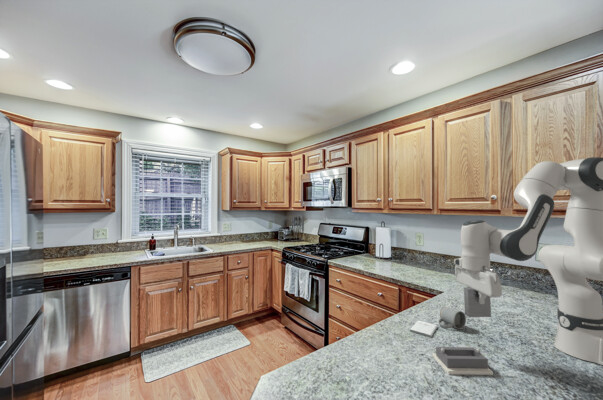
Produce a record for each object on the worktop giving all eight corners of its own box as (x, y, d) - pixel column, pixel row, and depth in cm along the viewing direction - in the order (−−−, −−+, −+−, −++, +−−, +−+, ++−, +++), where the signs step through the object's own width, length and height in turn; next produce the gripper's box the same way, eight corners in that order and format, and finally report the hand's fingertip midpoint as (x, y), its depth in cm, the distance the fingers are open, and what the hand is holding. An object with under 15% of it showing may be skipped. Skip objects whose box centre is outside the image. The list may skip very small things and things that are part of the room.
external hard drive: (410, 333, 109) (417, 323, 118) (430, 339, 103) (437, 328, 113) (409, 329, 109) (417, 319, 118) (430, 335, 103) (437, 324, 113)
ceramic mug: (449, 320, 120) (449, 304, 121) (466, 327, 113) (466, 310, 113) (433, 324, 116) (433, 307, 117) (450, 332, 109) (449, 314, 109)
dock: (471, 356, 90) (471, 341, 90) (493, 374, 80) (492, 358, 80) (432, 356, 90) (432, 341, 90) (448, 374, 80) (448, 357, 80)
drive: (486, 314, 95) (485, 287, 95) (491, 316, 92) (489, 289, 93) (464, 314, 95) (463, 287, 95) (469, 317, 92) (468, 289, 93)
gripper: (506, 270, 84) (508, 312, 83) (466, 258, 104) (468, 292, 104) (487, 270, 84) (489, 312, 83) (451, 259, 104) (452, 292, 104)
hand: (477, 301), depth 94 cm, fingers closed on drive, 2 cm apart
